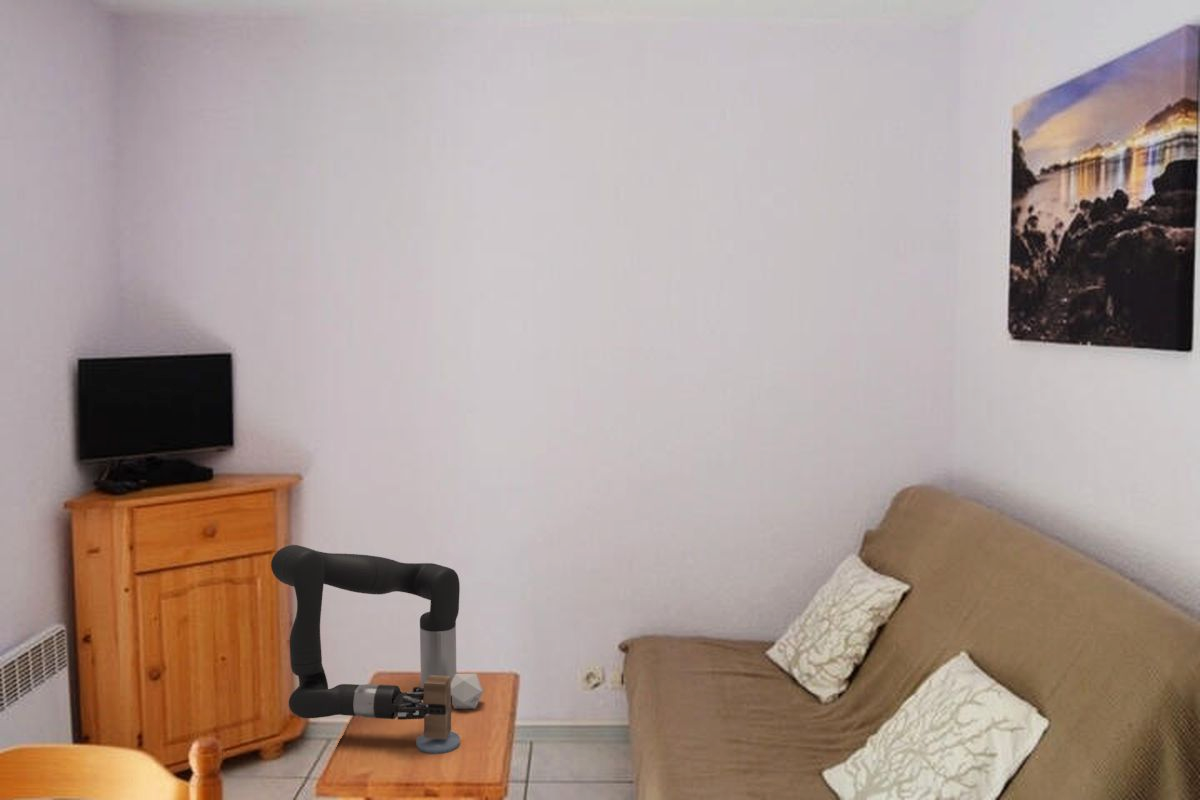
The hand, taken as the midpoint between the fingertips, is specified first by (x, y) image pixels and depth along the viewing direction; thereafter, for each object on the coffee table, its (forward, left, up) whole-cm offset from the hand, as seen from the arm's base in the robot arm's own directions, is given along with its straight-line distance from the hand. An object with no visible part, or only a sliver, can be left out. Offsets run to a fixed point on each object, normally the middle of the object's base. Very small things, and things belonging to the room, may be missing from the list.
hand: (448, 705), depth 251 cm
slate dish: (-1, -3, -10) cm, 10 cm away
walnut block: (-1, -3, -7) cm, 7 cm away
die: (-22, +5, -10) cm, 24 cm away
